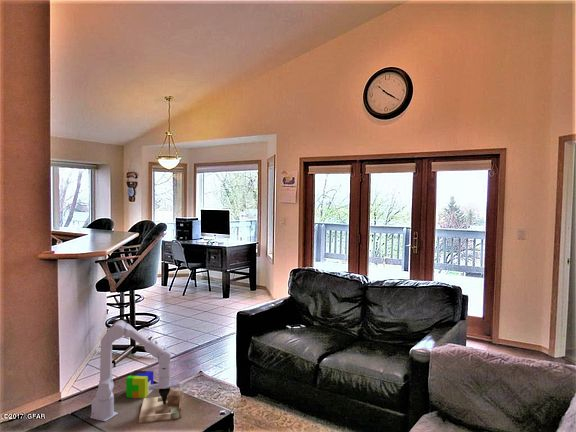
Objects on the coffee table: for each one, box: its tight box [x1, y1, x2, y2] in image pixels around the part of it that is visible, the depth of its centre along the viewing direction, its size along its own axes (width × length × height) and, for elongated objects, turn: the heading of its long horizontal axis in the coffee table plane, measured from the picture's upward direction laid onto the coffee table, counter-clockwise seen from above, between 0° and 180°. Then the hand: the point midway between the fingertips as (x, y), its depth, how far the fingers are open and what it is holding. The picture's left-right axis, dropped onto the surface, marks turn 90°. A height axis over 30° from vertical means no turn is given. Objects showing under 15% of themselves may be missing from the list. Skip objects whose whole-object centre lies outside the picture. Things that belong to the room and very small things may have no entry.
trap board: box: [138, 390, 183, 423], centre depth 194 cm, size 18×19×4 cm
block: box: [168, 390, 180, 407], centre depth 195 cm, size 5×5×5 cm
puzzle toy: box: [125, 370, 154, 399], centre depth 212 cm, size 10×10×10 cm
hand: (164, 403), depth 194 cm, fingers closed
